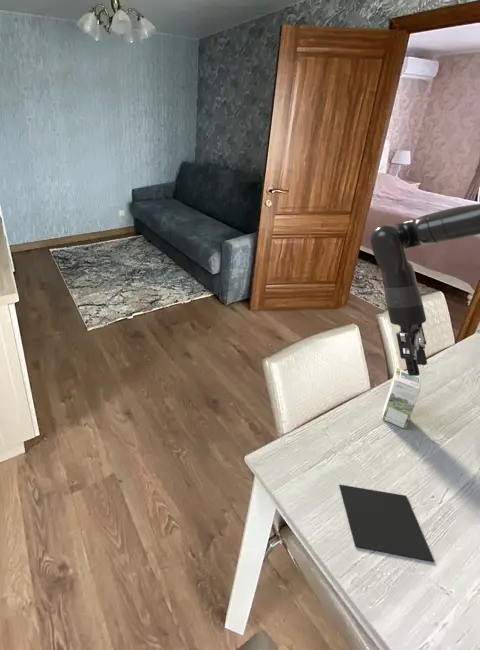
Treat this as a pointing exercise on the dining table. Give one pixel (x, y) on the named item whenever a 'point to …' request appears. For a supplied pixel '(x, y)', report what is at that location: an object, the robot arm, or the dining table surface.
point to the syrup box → (401, 398)
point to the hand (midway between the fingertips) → (418, 369)
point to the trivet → (384, 523)
